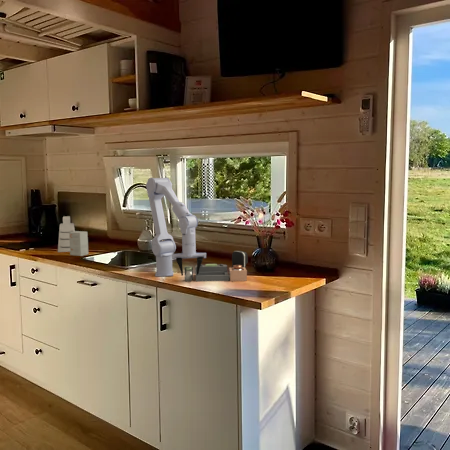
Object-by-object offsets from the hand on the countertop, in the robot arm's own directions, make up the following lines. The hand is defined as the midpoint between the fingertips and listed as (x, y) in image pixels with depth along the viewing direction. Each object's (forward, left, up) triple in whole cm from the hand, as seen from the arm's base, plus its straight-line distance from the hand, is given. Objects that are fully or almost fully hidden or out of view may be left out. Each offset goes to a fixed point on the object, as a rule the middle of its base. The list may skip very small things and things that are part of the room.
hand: (189, 274), depth 212 cm
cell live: (0, 0, -3) cm, 3 cm away
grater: (-86, -71, -3) cm, 112 cm away
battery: (-6, +23, -3) cm, 24 cm away
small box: (-70, -61, -3) cm, 93 cm away
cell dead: (+2, +21, -2) cm, 21 cm away
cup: (+2, +21, -3) cm, 21 cm away
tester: (-2, +10, -3) cm, 10 cm away
